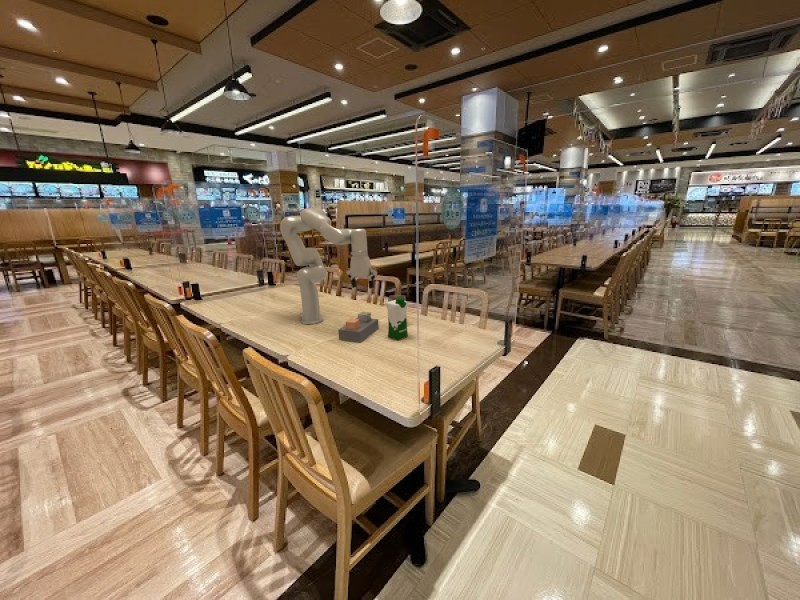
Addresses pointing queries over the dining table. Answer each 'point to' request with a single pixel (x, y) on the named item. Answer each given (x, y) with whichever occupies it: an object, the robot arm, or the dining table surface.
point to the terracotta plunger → (352, 324)
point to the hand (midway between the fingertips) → (362, 287)
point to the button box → (359, 331)
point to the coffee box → (393, 297)
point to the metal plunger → (364, 317)
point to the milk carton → (397, 318)
